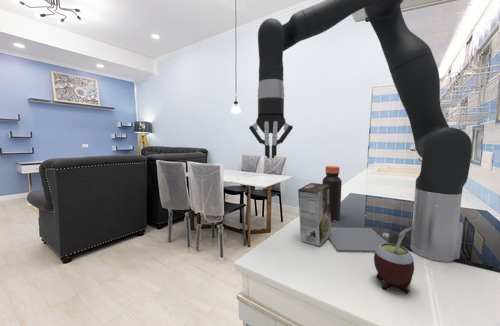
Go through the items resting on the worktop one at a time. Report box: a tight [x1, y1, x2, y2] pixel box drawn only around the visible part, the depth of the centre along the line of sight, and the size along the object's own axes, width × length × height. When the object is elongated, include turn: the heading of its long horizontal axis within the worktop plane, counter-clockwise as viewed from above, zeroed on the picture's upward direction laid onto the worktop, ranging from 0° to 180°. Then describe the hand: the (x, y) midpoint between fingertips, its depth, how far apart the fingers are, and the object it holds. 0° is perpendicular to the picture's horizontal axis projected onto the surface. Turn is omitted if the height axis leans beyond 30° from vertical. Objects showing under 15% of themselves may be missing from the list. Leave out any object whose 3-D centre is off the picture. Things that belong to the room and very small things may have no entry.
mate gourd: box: [373, 226, 415, 295], centre depth 45 cm, size 8×8×15 cm
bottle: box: [321, 165, 343, 221], centre depth 83 cm, size 7×7×20 cm
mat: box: [327, 226, 389, 254], centre depth 67 cm, size 16×15×1 cm
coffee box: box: [297, 182, 332, 247], centre depth 66 cm, size 9×6×16 cm
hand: (270, 157), depth 65 cm, fingers closed
